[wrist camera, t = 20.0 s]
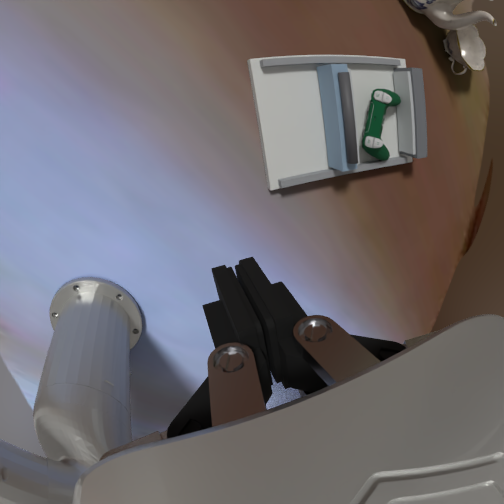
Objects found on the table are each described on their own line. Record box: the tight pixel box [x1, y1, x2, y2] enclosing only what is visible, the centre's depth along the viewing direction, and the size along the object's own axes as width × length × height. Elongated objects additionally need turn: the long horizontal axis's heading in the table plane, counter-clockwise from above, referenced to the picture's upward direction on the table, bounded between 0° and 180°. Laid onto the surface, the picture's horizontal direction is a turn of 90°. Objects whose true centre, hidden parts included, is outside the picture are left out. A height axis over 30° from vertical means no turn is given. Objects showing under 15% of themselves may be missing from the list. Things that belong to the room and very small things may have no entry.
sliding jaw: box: [317, 64, 360, 172], centre depth 31 cm, size 12×2×4 cm, turn 10°
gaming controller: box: [362, 89, 401, 161], centre depth 33 cm, size 9×4×6 cm
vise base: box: [247, 55, 427, 190], centre depth 32 cm, size 15×22×4 cm
